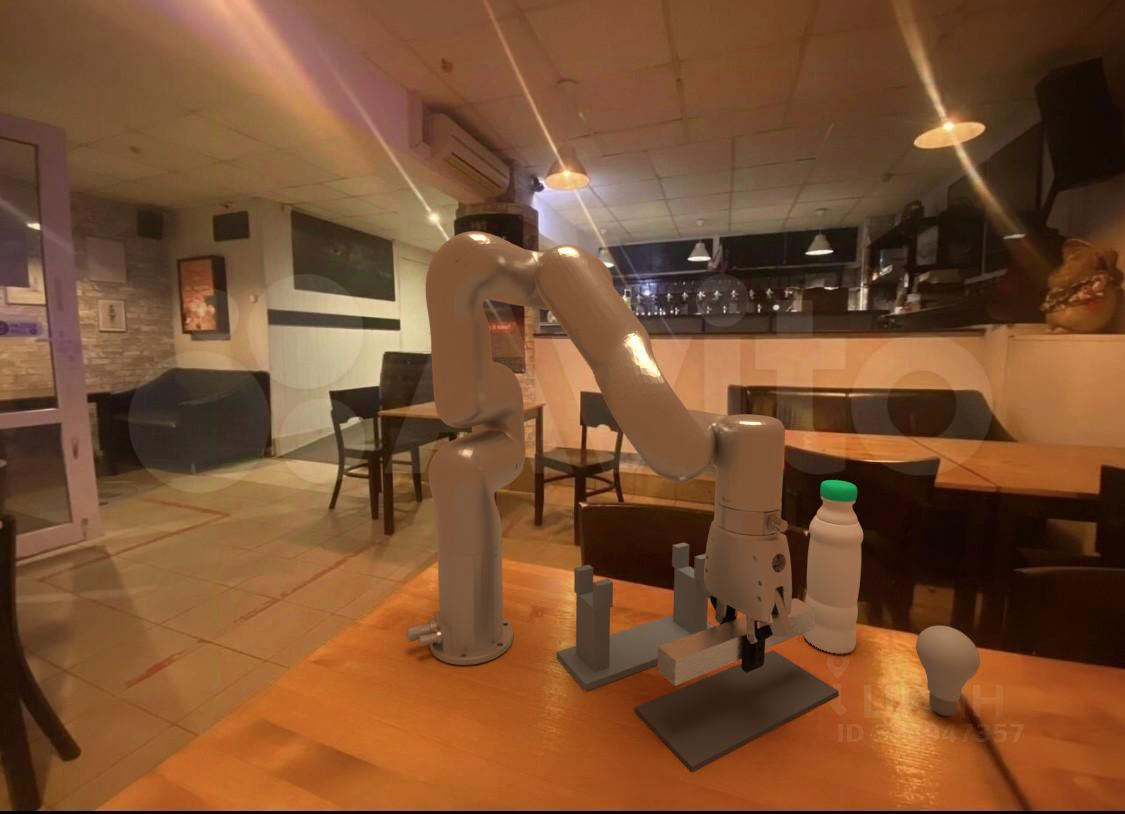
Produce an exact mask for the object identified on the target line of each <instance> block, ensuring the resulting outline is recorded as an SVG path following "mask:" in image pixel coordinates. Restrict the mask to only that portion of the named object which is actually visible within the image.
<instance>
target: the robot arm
mask: <svg viewBox="0 0 1125 814" xmlns="http://www.w3.org/2000/svg"><path fill="white" fill-rule="evenodd" d="M427 269H428V270H427V273H426V276H425V277H426V278H425V301H426V302H425V303H426V307H427V315H428V321H429V323H428V324H429V330H430V347H431V348H430V349H431V350H430V351H431V352H430V353H431V366H432V368H431V369H432V371H431V372H432V385H433V398H434V399H433V400H434V407H435V411H436V413H437V416H438V417H439V419H440V420H441V421H442V422H443V423H444V425H447V426H449V427H451V428H456V429H463V428H464V429H466V428H471V433H470V434H468V435H467V434H466V435H464V436H461V437H458V438H457V437H456V438H455V439H453V440H450V441H448V442H446V443H445V444H444V445H442V446H441V447H439V449H437V451H435V453H434V455H433V457H432V459H431V461H430V463H429V465H428V466H429V467H428V484H429V487H430V494H431V498H432V501H433V506H434V511H435V523H436V543H437V544H436V546H437V547H436V548H437V571H438V573H437V577H438V581H437V582H438V583H437V584H438V607H439V608H438V611H434V612H433V619H431V620H430V619H429V620H428V621H427V623H425V624H418V625H414V626H413V625H412V626H410V627H407V628H406V638H407V641H408V642H409V643H410V642H414V641H417V640H418V641H419V646H420V647H421V648H422V647H425V646H428V645H429V650H430V652H431V653H432V655H433V656H434V657H435V658H436V659H439V660H440V661H442V662H444V663H446V664H447V663H448V664H450V665H451V664H452V665H457V666H458V665H459V666H471V665H479V664H483V663H486V662H489V661H492V660H494V659H496V658H498V657H499V656H501V655H502V654H504V653H505V652H506V651H507V650H508V649H509V648H511V645H512V643H513V640H514V629H513V626H512V624H511V623H510V622H509V621H508V620H507V619H506V618H505V617H504V614H503V613H504V612H503V611H504V605H503V603H504V601H503V598H504V597H503V596H504V595H503V593H504V592H503V539H502V537H503V536H502V534H503V532H502V521H501V519H502V518H501V516H500V512H499V508H498V506H497V504H496V499H495V493H496V492H497V491H498V490H500V489H502V488H505V487H506V486H507V485H509V484H511V483H512V482H513V481H515V480H516V479H518V477H519V476H520V475H521V473H522V471H523V469H524V464H525V461H526V431H525V414H524V413H525V412H524V411H525V410H524V409H525V408H524V396H523V391H522V389H523V388H522V386H521V383H520V380H519V378H518V377H517V375H516V374H515V372H514V371H513V370H512V369H511V368H510V367H508V366H506V365H505V364H503V363H500V362H497V361H493V354H492V334H491V327H490V324H489V321H488V318H487V316H486V313H485V310H484V302H485V301H486V300H491V301H494V302H500V303H504V304H508V305H514V306H521V307H528V308H533V309H540V310H544V311H549V312H550V313H551V315H552V316H553V318H554V319H555V320H556V321H557V324H558V325H559V326H560V327H561V328H562V330H563V331H564V332H565V334H566V335H567V337H568V338H569V339H570V341H571V343H572V344H573V345H574V347H575V348H576V349H577V351H578V353H579V354H580V356H581V357H582V358H583V359H584V361H585V362H586V364H587V366H589V368H590V370H591V371H592V374H593V377H594V380H595V382H596V384H597V386H598V389H599V391H600V393H601V395H602V396H603V400H604V401H605V403H606V405H607V408H608V409H609V412H610V414H611V415H612V417H613V419H614V420H615V422H616V424H617V425H618V427H619V428H620V430H621V431H622V432H623V433H622V434H624V435H625V437H626V438H627V440H628V441H629V443H630V444H631V445H632V448H634V450H635V451H636V453H637V454H638V456H640V458H641V459H642V460H643V462H644V463H645V464H646V466H647V467H648V468H649V469H650V470H651V471H652V472H653V473H655V475H657V476H658V477H660V478H662V479H664V480H666V481H669V482H671V483H677V484H678V483H688V482H691V481H694V480H695V479H699V477H701V476H702V475H703V474H704V473H705V472H706V471H707V470H708V468H709V466H713V468H715V486H714V487H715V488H714V491H715V492H714V515H713V520H712V521H711V523H710V527H709V532H708V536H707V540H706V548H705V553H704V554H705V566H704V581H703V583H702V585H701V587H702V589H703V591H704V592H705V593H706V595H707V596H708V599H710V603H711V605H712V608H713V610H714V612H715V615H714V617H715V620H716V622H718V623H719V625H720V624H723V623H726V622H729V621H732V620H734V619H737V618H738V615H739V613H742V614H743V615H744V616H746V626H747V639H744V640H743V650H742V659H741V663H742V665H741V667H742V670H743V671H745V672H746V673H748V672H750V671H752V670H755V669H757V668H759V667H762V666H763V664H764V657H765V653H766V649H765V639H767V638H769V637H771V636H773V637H784V636H786V635H789V634H791V633H792V632H793V630H792V627H791V624H790V621H789V618H788V615H789V614H790V612H791V604H792V599H793V597H792V596H793V595H792V594H793V585H792V584H793V582H792V580H793V578H792V565H791V556H790V555H791V554H790V550H789V549H790V548H789V543H788V538H787V535H785V534H784V533H785V532H786V531H787V530H788V528H789V524H788V521H787V520H784V519H782V503H783V501H782V498H783V479H784V464H785V448H786V447H785V446H786V429H785V425H784V424H783V422H782V421H781V420H780V419H778V418H776V417H773V416H769V415H768V416H767V415H762V414H761V415H759V414H747V413H746V414H743V413H741V414H731V415H727V414H720V413H714V412H707V411H702V410H696V409H687V407H686V405H684V403H683V402H682V401H681V399H680V398H679V396H678V395H677V394H676V392H675V390H673V388H672V387H671V384H669V382H668V381H667V379H666V377H665V375H664V374H663V372H662V370H661V369H660V367H659V365H658V363H657V361H656V358H655V354H654V351H653V347H652V342H651V338H650V335H649V333H648V331H647V329H646V328H645V326H644V325H643V324H642V323H641V321H640V320H639V318H638V317H637V316H636V314H635V313H634V312H633V310H632V308H630V306H629V305H628V304H627V302H626V301H625V300H624V299H623V297H622V296H621V294H620V293H619V292H618V290H617V289H616V288H615V286H614V282H613V281H614V280H613V276H612V273H611V271H610V269H609V268H608V266H607V265H606V264H605V263H604V261H602V260H601V259H600V258H598V257H597V256H596V255H594V254H592V253H591V252H589V251H587V250H586V249H584V248H582V247H580V246H578V245H574V244H560V245H557V246H553V247H551V248H550V249H548V250H546V251H545V252H543V251H538V250H532V249H531V250H529V249H525V248H524V247H523V248H522V247H521V246H519V245H516V244H513V243H511V242H510V241H508V240H506V239H504V238H502V237H500V236H497V235H494V234H493V233H487V232H485V231H484V232H483V231H476V230H475V231H474V230H473V231H466V232H462V233H459V234H458V233H457V234H456V235H454V236H452V237H450V238H449V239H448V240H447V241H445V242H444V243H443V244H442V245H441V246H440V247H439V248H438V250H437V251H436V252H435V254H434V256H433V258H432V260H431V262H430V264H429V266H428V268H427ZM770 614H771V616H772V619H773V623H770ZM757 622H759V627H760V628H758V625H757Z"/></svg>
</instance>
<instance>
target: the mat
mask: <svg viewBox="0 0 1125 814" xmlns="http://www.w3.org/2000/svg"><path fill="white" fill-rule="evenodd" d="M741 665H742V662H741V663H738V664H737V665H734V666H731V667H728V668H726V669H724V670H721V671H720V672H716V673H714V674H713V675H710V676H707V677H705V678H703V679H700V680H698V681H695V682H692V683H691V684H687V685H686V686H683V687H681V688H678V689H676V690H673V691H671V692H668V693H666V694H664V695H662V696H659V697H657V698H654V699H652V700H649V701H646V702H644V703H642V704H638V706H635V707H634V713H635V714H637V715H638V717H639V718H640V719H641V720H642V721H643V722H644V723H645V725H647V726H648V727H649V728H650V730H652V732H653V733H654V734H655V735H656V736H657V737H658V738H659V739H660V740H661V741H662V742H663V743H664V744H665V746H667V748H668V749H669V750H670V751H671V752H672V753H673V754H674V755H675V756H676V758H678V759H679V760H680V761H681V762H682V764H683V765H685V767H686V768H687V769H688V770H689V771H690V772H691V773H693V772H695V771H697V770H699V769H701V768H702V767H704V766H706V765H708V764H710V763H712V762H714V761H716V760H718V759H720V758H721V757H724V756H725V755H727V754H730V753H731V752H733V751H734V750H737V749H739V748H741V747H742V746H744V745H746V744H748V743H750V742H752V741H754V740H756V739H758V738H760V737H762V736H764V735H765V734H767V733H769V732H771V731H774V730H775V729H777V728H778V727H780V726H782V725H784V724H787V723H788V722H790V721H792V720H794V719H796V718H798V717H800V716H801V715H803V714H805V713H808V712H810V711H811V710H813V709H815V708H817V707H819V706H821V705H822V704H825V703H826V701H827V702H829V701H831V700H832V699H834V698H836V697H838V696H839V693H840V692H839V690H838V689H837V688H835V687H833V686H832V685H830V684H828V683H827V682H825V681H823V680H822V679H820V678H819V677H817V676H815V675H814V674H812V673H811V672H809V671H808V670H807V669H804V668H803V667H801V666H800V665H798V664H796V663H795V662H793V661H792V660H791V659H788V658H787V657H785V656H783V655H782V654H780V653H779V652H777V651H775V650H774V649H773V650H770V651H768V652H765V657H764V664H763V666H762V667H759V668H757V669H755V670H752V671H750V672H748V673H746V672H745V671H743V670H742V667H741ZM824 702H825V703H824ZM818 705H819V706H818ZM816 706H817V707H816ZM814 707H815V708H814ZM810 709H811V710H810Z"/></svg>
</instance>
